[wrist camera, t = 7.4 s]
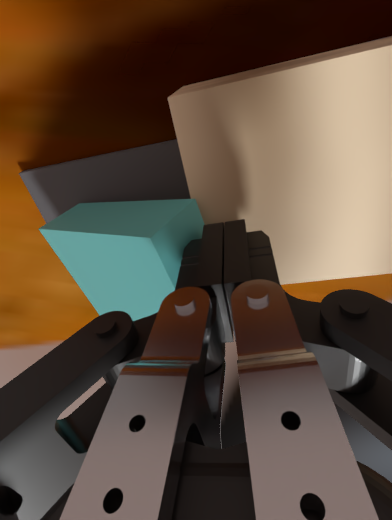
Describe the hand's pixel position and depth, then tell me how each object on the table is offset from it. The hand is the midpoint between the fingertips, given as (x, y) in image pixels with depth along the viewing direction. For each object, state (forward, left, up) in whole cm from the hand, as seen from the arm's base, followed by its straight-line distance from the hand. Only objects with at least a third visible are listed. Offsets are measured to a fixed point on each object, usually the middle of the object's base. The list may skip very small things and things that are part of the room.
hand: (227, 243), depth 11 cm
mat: (+6, +1, -5) cm, 8 cm away
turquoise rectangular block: (+4, +2, -2) cm, 5 cm away
